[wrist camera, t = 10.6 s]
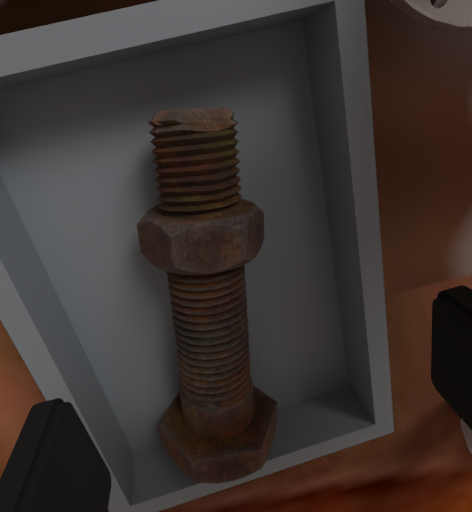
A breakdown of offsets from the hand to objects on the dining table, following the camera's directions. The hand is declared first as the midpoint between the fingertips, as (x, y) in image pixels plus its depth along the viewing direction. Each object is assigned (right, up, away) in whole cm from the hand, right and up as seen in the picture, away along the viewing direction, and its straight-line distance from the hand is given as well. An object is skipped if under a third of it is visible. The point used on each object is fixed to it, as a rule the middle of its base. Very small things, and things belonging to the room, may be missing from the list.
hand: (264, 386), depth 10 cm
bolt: (-2, +2, +9) cm, 9 cm away
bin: (-3, +3, +9) cm, 10 cm away
